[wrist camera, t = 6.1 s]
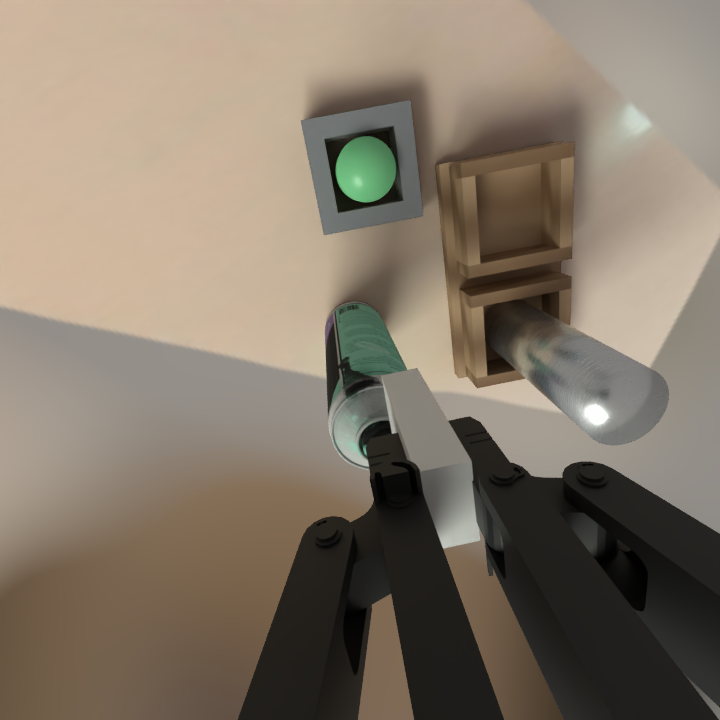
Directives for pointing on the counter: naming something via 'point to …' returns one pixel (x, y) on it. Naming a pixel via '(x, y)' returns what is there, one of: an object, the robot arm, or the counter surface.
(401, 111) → the gray square frame
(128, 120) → the counter surface
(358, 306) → the spray can
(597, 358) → the seated billet
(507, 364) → the wooden double crate
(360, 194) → the button
